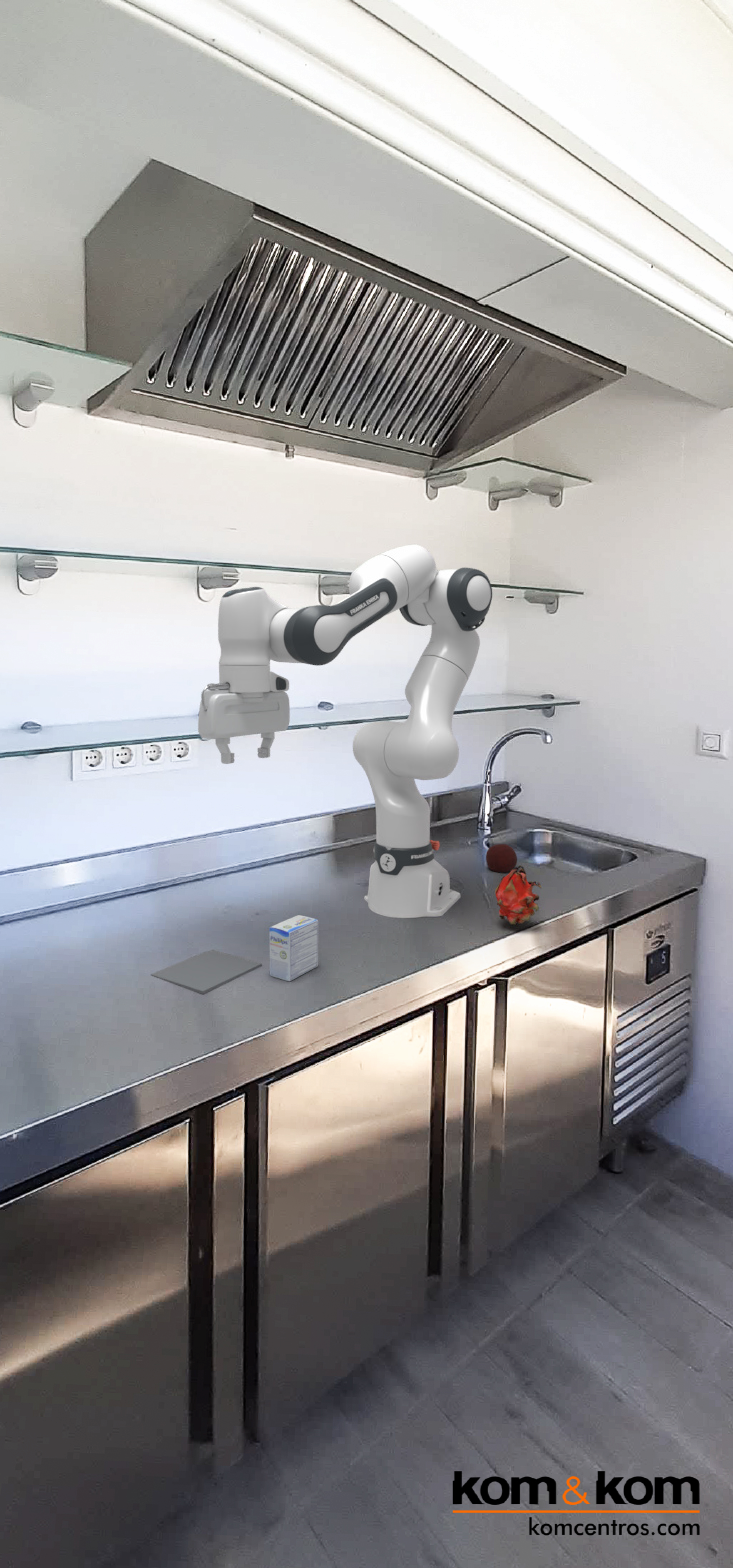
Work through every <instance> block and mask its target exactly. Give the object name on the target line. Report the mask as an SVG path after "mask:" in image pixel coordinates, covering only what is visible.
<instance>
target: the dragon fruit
mask: <svg viewBox="0 0 733 1568" xmlns="http://www.w3.org/2000/svg"><path fill="white" fill-rule="evenodd" d="M518 870H519V871H518ZM534 886H536V887H538V888H539V889H542V885H541V882H539V881H532V880H531V881H528V880H527V873H526V870H525V867H524V866H522V865H518V867H516V866H515V867H514V868H513V869H512V870H511V871H509V873H508V874H506V875H503V876H502V878H501V879H500V881H499V884H497V887H496V888H495V890H494V893H495V897H496V900H497V903H496V905H497V906H499V910H498V914H499V917H500V920H502V921H503V920H505V917H506V920H507V921H508V922H509V924H510V925H515V926H518V924H524V923H525V921H526V922H529V921H530V920H531V917H532V916H535V914H536V913H535V912H537V911H539V909H540V907H539V905H538V903H535V901H539V900H540V896H539V895H538V894H537V893H533V888H534Z"/></svg>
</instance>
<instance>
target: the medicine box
mask: <svg viewBox="0 0 733 1568" xmlns="http://www.w3.org/2000/svg"><path fill="white" fill-rule="evenodd" d="M268 930H269V939H268V940H269V975H270V977H273V978H275V979H277V980H278V979H279V980H283V981H286V982H291V981H293V980H295V979H297V978H299V977H301V976H302V975H304V974H307V973H308V972H310V971H311V970H314V969H315V968H318V966H319V919H316V918H313V917H310V916H305V915H301V914H298V915H294V916H292V917H290V918H288V919H286V920H285V919H284V920H283V921H281V922H278V923H277V924H274V925H271V926H270V927H269V928H268Z"/></svg>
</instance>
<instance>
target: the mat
mask: <svg viewBox="0 0 733 1568" xmlns="http://www.w3.org/2000/svg"><path fill="white" fill-rule="evenodd" d="M262 966H263V963H261V962H257V961H253V960H250V959H247V958H243V957H241V956H237V955H232V954H229V953H225V952H222V951H218V950H215V949H211V950H207V951H204V952H202V953H201V952H200V953H198V954H197V955H195V956H191V957H190V958H187V959H183V960H182V961H180V962H177V963H175V964H173V965H170V966H168V967H165V968H163V969H160V970H159V971H158V970H157V971H156V972H153V973H150V976H152V977H154V978H157V979H160V980H163V981H165V982H168V983H170V984H174V985H177V986H178V987H182V988H184V989H187V990H190V991H192V992H195V993H199V994H201V995H205V994H207V993H209V992H211V991H213V990H216V989H217V988H219V987H222V986H224V985H226V984H228V983H231V982H232V981H234V980H236V979H239V978H240V977H243V976H245V975H246V974H248V973H250V972H252V971H254V970H256V969H259V968H261V967H262Z"/></svg>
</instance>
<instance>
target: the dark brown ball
mask: <svg viewBox="0 0 733 1568" xmlns="http://www.w3.org/2000/svg"><path fill="white" fill-rule="evenodd" d="M485 862H486V865H487V867H488V868H489V870H491V871H492V872H496V873H508V872H509V873H510V872H511V871H512V870H513V869H514V868H516V866H517V863H518V856H517V854H516V851H515V850H514V848H513V847H511V846H510V845H508V844H505V843H498V844H494V845H492V846H490V847H489V848H488V849H487V851H486V853H485Z"/></svg>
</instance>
